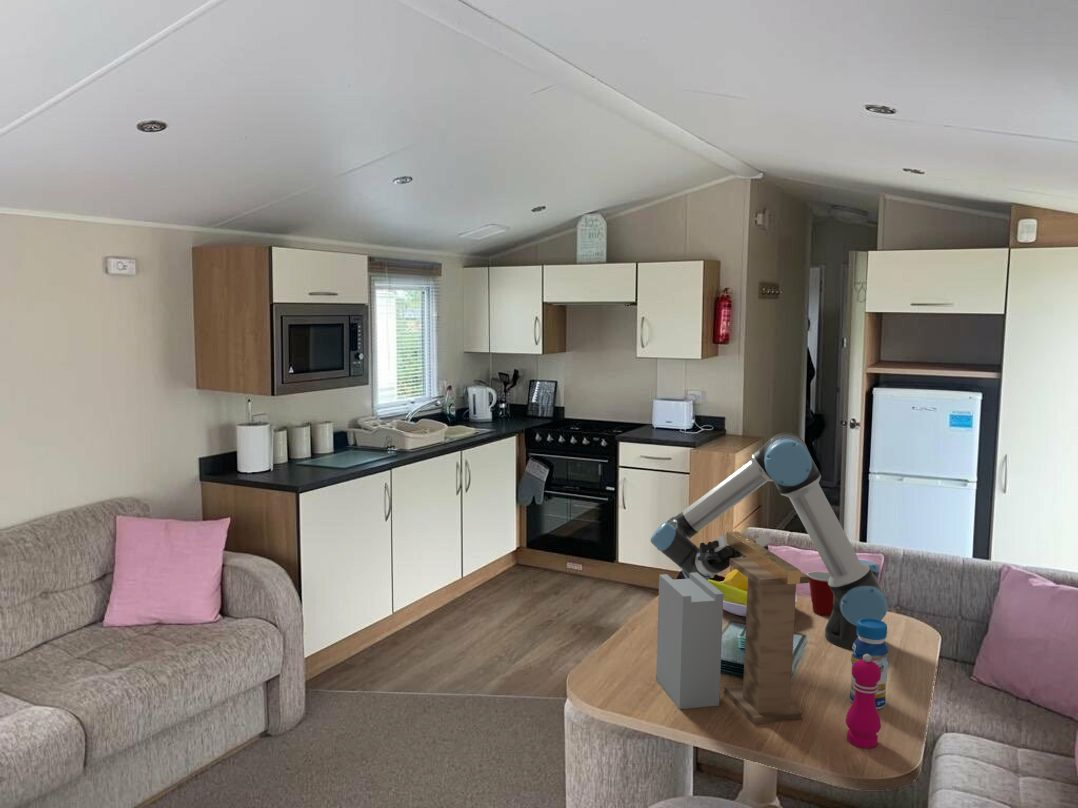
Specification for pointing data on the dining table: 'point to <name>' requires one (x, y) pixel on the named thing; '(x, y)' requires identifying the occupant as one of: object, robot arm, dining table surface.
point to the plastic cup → (821, 593)
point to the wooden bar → (764, 558)
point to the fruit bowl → (734, 592)
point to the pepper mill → (864, 704)
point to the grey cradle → (689, 640)
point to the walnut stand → (767, 646)
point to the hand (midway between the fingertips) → (746, 538)
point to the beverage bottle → (872, 653)
